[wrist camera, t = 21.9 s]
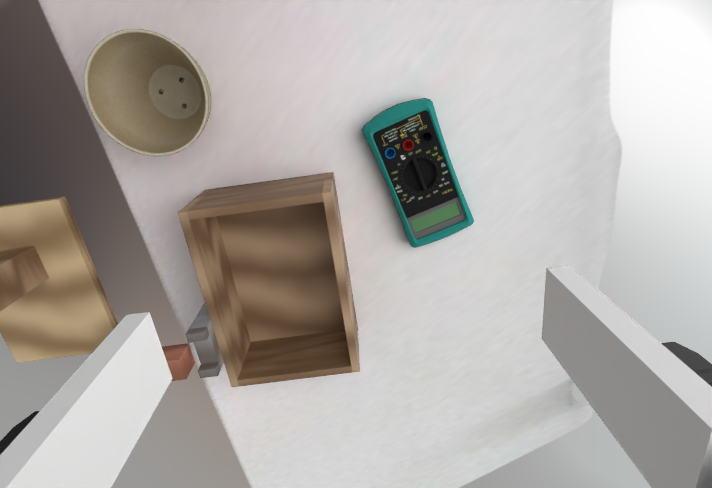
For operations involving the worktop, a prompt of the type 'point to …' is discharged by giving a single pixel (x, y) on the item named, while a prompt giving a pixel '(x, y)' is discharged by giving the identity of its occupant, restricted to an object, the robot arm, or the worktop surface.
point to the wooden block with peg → (49, 284)
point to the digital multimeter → (418, 171)
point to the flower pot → (147, 92)
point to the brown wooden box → (272, 281)
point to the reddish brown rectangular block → (179, 360)
